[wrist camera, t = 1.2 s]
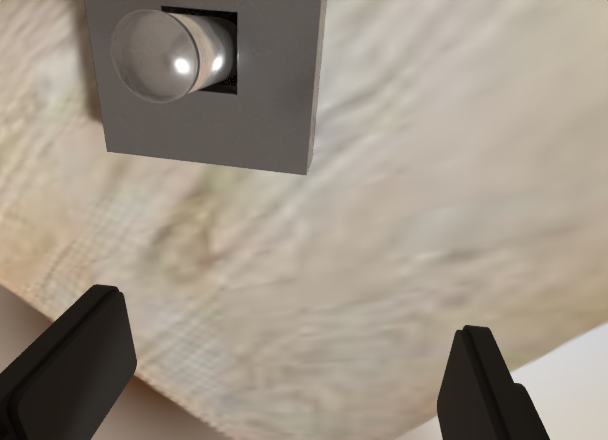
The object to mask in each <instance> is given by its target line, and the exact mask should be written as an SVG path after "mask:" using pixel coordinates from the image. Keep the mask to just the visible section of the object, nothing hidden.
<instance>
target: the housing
mask: <svg viewBox="0 0 608 440" xmlns="http://www.w3.org/2000/svg"><path fill="white" fill-rule="evenodd" d="M84 2H85V9H86V16H87V22H88V29H89V35H90V42H91V48H92V55H93V62H94V68H95V75H96V81H97V88H98V95H99V101H100V108H101V114H102V121H103V128H104V134H105V141H106V147H107V152H115V153H123V154H132V155H140V156H148V157H157V158H165V159H174V160H182V161H190V162H199V163H207V164H216V165H224V166H232V167H241V168H249V169H258V170H266V171H274V172H283V173H291V174H300V175H307V172H308V170H309V167H310V164H311V161H312V156H313V145H314V134H315V123H316V112H317V101H318V90H319V79H320V68H321V57H322V46H323V35H324V24H325V13H326V2H327V0H84ZM185 8H186V9H198V10H209V11H221V12H232V13H238V15H237V86H234V85H224V84H212V85H209V86H206V87H204V88H201V89H198V90H196V91H193V92H190V93H188V94H186V95H185V96H183V97H182V98H179V99H177V100H174V101H172V102H168V103H152V102H148V101H145V100H143V99H141V98H139V97H138V96H136V95H135V94H133V93H132V92H131V91H130V90H129V89H128V88H127V87H126V86H125V85H124V84H123V83H122V81H121V80H120V78H119V76H118V75H117V73H116V70H115V68H114V65H113V62H112V58H111V49H110V48H111V38H112V34H113V31H114V29H115V27H116V25H117V23H118V22H119V21H120V20H121V19H122V18H123V17H124V16H125V15H126V14H128V13H130V12H132V11H135V10H140V9H151V10H159V11H163V12H166V13H173V14H185Z"/></svg>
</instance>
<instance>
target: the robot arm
mask: <svg viewBox="0 0 608 440" xmlns="http://www.w3.org/2000/svg"><path fill="white" fill-rule="evenodd" d="M136 366H137V359H136V354H135V349H134V344H133V339H132V334H131V329H130V324H129V319H128V314H127V309H126V304H125V298H124V295H123V293H122V292H119V289H118V288H117V287H115V286H108V285H99V284H96V285H93V286H92V287H91V288H90V289H89V290H87V291H86V292H85V293H84V294H83V295H82V296H81V297H80V298H79V299H78V300H77V301H76V302H75V303H74V304H73V305H72V306H71V307H70V308H69V309H68V310H67V311H65V312H64V313H63V314H62V315H61V316H60V317H59V318H58V319H57V320H56V321H55V322H54V323H53V324H52V325H51V326H50V327H49V328H48V329H47V330H46V331H45V332H44V333H42V335H40V336H39V337H38V338H37V339H36V340H35V341H34V342H33V343H32V344H31V345H30V346H29V347H28V348H27V349H26V350H25V351H24V352H22V353H21V355H20V356H19V357H17V358H16V359H15V360H14V361H13V362H12V363H11V364H10V365H9V366H8V367H7V368H6V369H5V370H4V371H3V372H2V373H1V374H0V440H91V438H92V437H93V435H94V434H95V432H96V431H97V429H98V427H99V426H100V424H101V423H102V421H103V420H104V418H105V417H106V415H107V414H108V412H109V411H110V409H111V408H112V406H113V404H114V403H115V402H116V400H117V398H118V397H119V395H120V394H121V392H122V391H123V389H124V388H125V386H126V385H127V383H128V382H129V380H130V379H131V377H132V376H133V374H134V372H135V370H136ZM437 413H438V418H439V423H440V428H441V433H442V437H443V440H550V438H549V436H548V434H547V432H546V430H545V428H544V425H543V423H542V421H541V419H540V417H539V415H538V413H537V411H536V409H535V407H534V404H533V402H532V400H531V398H530V396H529V394H528V392H527V390H526V389H525V387H524V386H523V385H522V384H519V383H514V381H513V379H512V377H511V375H510V373H509V370H508V368H507V366H506V364H505V361H504V359H503V357H502V355H501V352H500V350H499V348H498V346H497V343H496V341H495V339H494V337H493V335H492V332H491V330H490V329H489V328H488V327H480V326H471V325H465V326H464V328H463V330H457V331H456V333H455V336H454V340H453V344H452V348H451V351H450V355H449V359H448V362H447V366H446V370H445V374H444V377H443V381H442V385H441V388H440V392H439V396H438V400H437Z"/></svg>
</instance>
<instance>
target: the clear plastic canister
mask: <svg viewBox="0 0 608 440" xmlns="http://www.w3.org/2000/svg"><path fill="white" fill-rule="evenodd" d="M110 49H111V58H112V62H113V65H114V68H115V70H116V73H117V75H118V76H119V78H120V80H121V81H122V83H123V84H124V85H125V86H126V87H127V88H128V89H129V90H130V91H131V92H132V93H133V94H135V95H136V96H138V97H139V98H141V99H143V100H145V101H148V102H152V103H168V102H172V101H174V100H177V99H179V98H182V97H183V96H185V95H186V94H188V93H190V92H193V91H196V90H198V89H201V88H204V87H206V86H209V85H212V84H214V83H217V82H220V81H222V80H225V79H228V78H230V77H233V76H234V75H236V74H237V26H236V25H235V24H234V23H232V22H231V21H229V20H227V19H224V18H220V17H209V16H197V15H185V14H173V13H166V12H163V11H159V10H151V9H140V10H135V11H132V12H130V13H128V14H126V15H125V16H124V17H123V18H122V19H121V20H120V21H119V22H118V23H117V25H116V27H115V29H114V31H113V34H112V38H111V48H110Z"/></svg>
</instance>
